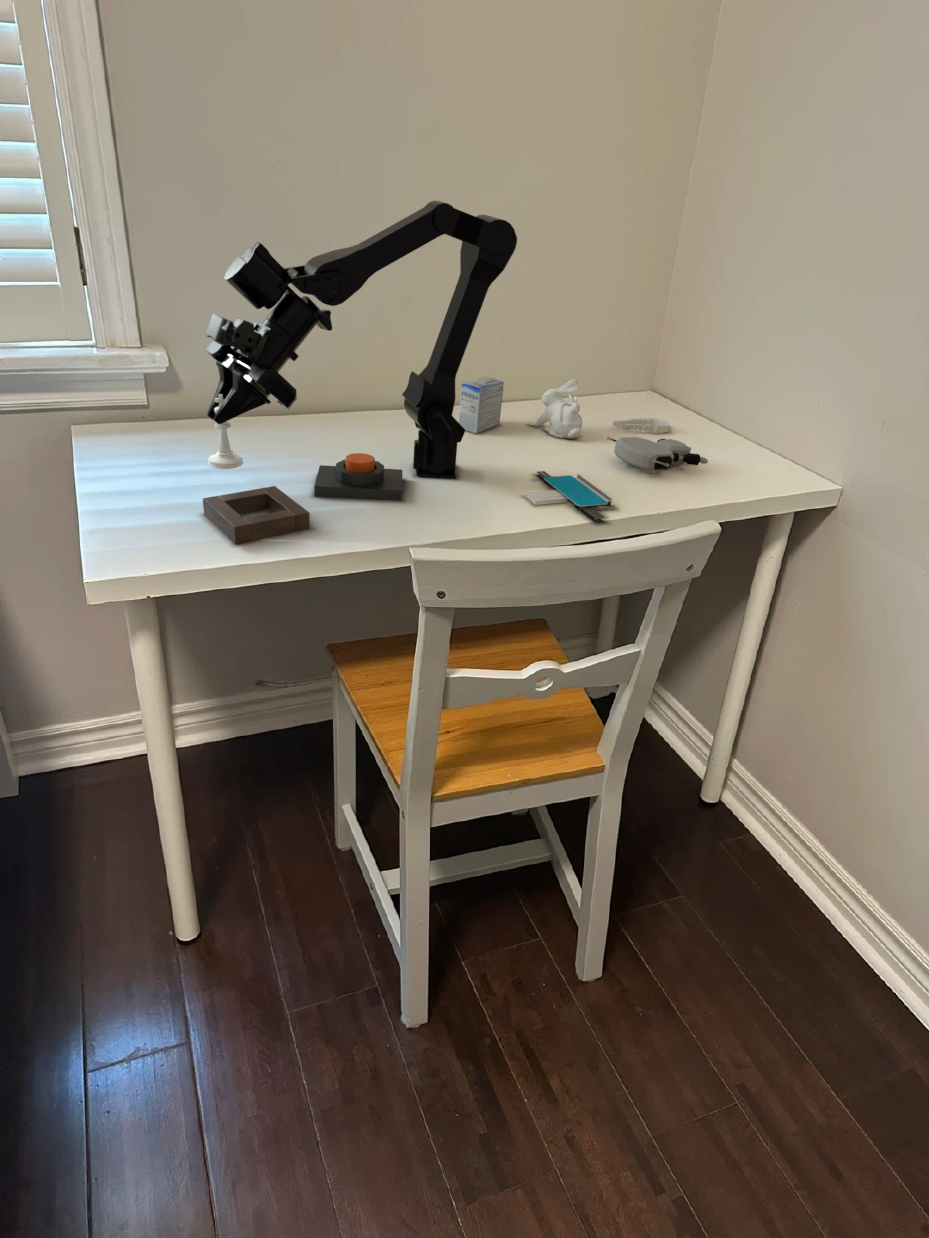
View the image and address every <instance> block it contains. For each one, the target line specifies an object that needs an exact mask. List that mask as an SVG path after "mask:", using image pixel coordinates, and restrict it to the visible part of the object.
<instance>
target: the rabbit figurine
mask: <svg viewBox="0 0 929 1238" xmlns="http://www.w3.org/2000/svg"><path fill="white" fill-rule="evenodd" d="M580 387H581V386H580V383H579V382H578V379H576V378H572V379H570V380H569V381H566V382H565V383H563V384H562V385H561V386H559V387H558V388H549V389H547V390H546V391H545V392H544V393H543V395H542V396H541V403H542V404H543V405H545V409H544V412H543V413H542V414H541V415H540V416H539V417H538V419H537V420H536V421H535V422H530V423H529V426H532V427H535V428H538V427H542V426H544V425H545V424H547V423H548V422H549V426H546V427H544V432H548V434H549V435H551V436H554V437H557V438H560V439H570V440H574V439H577V438H579V437H580V436H581V434H582V426H583V423H584V421H583V418H582V416H581V415H580V413H579V412H580V410H581V405H580V404H579V403H578V396H577V395H575V396H574V398H573V397H572V395H571V394H569V393H573V392H574V393H575V392H576V391H579V389H580ZM566 394H569V395H568V400H569V401H570V402H571V403H572V404H571V403H569V402H567V401H566V400H565V399H564V398H563V395H566Z"/></svg>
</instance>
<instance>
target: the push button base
mask: <svg viewBox="0 0 929 1238" xmlns="http://www.w3.org/2000/svg"><path fill="white" fill-rule="evenodd" d="M313 490H314V491H313V493H314V497H315V498H330V499H331V498H333V499H351V500H354V499H355V500H372V501H373V500H374V501H375V500H376V501H392V502H393V501H394V502H395V501H396V502H402V501H403V469H401V468H399V469H397V468H385V465H384V464H383V463H381V462H380V461H378V460H375V469H374V470H373V471H371V472H364V473H363V472H352V471H348V470H347V469H346V458H344V459H342V460H340V461H338V462H336V464H335V465H321V464H320V465H319V467H318V470H317V475H316V479H315V483H314V489H313Z"/></svg>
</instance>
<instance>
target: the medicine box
mask: <svg viewBox="0 0 929 1238" xmlns="http://www.w3.org/2000/svg"><path fill="white" fill-rule="evenodd" d="M504 385H505V382H504V381H503V380H500V379H497V378H493V377H489V376H482V377H478V378H475V379H472V380H468V381H466V382H462V383H461V387H460V400H459V412H458V413H459V414H458V423H459V424H460V425H461V426H462V427H463V428H464V429H465V432H469V433H472V434H478V433H481V432H484V431H486V430H489V429H491V428H495V427H497V426H500V423H501V414H502V405H503V404H502V403H503V396H504V395H503V394H504V387H505V386H504Z"/></svg>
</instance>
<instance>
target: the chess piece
mask: <svg viewBox="0 0 929 1238" xmlns="http://www.w3.org/2000/svg"><path fill="white" fill-rule="evenodd" d="M218 397H219V398H215V402H219V406H218V407H215V408H214V411H215V413H217V411H218V410H219V408H220V406H221V405H222V403H223V402H224V400H225V399H223V394H219V395H218ZM231 426H232V425H231V423H230V422H228V421H226V422H224V423H222V424H218V423H216V422H215V425H214V427H215V428H217V429H219V438H218V439H219V441H218V450H217V451H216V453H214V454H211V455H209V456H208V462H207V465H208V466H209V467H211V468H213V469H220V470H230V469H236V468H239V467H241V466H242V465H243V464H244V460H243V456H242V455H240V454H238V453H236V452H234V451H233V450H232V449H231V444H230V440H229V435H228V430H227V429H229V428H231Z"/></svg>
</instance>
